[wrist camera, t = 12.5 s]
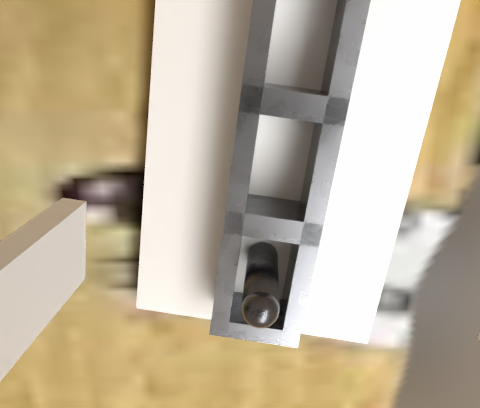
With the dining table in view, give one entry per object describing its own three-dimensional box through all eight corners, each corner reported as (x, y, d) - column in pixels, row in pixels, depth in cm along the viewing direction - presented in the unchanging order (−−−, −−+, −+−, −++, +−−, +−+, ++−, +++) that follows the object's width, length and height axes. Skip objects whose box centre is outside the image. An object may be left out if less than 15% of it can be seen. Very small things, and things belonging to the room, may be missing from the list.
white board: (362, 328, 36) (367, 343, 34) (143, 294, 36) (136, 308, 34) (465, -65, 27) (480, -74, 25) (170, -104, 27) (162, -116, 25)
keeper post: (275, 271, 32) (276, 339, 25) (245, 267, 32) (237, 333, 25) (280, 244, 32) (282, 305, 24) (249, 239, 32) (242, 299, 24)
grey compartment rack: (294, 314, 34) (297, 348, 30) (216, 302, 34) (209, 334, 30) (366, -39, 26) (382, -55, 22) (263, -53, 26) (261, -71, 22)
